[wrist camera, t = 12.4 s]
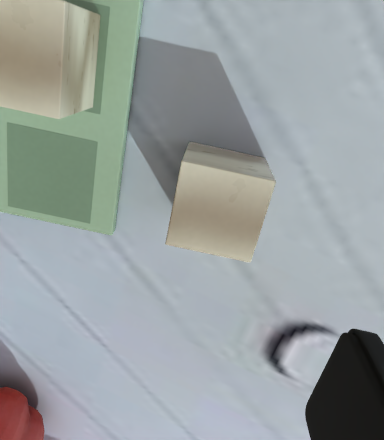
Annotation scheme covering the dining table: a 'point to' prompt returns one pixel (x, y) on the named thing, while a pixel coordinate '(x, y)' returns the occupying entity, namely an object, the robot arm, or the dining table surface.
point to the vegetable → (18, 417)
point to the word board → (76, 137)
